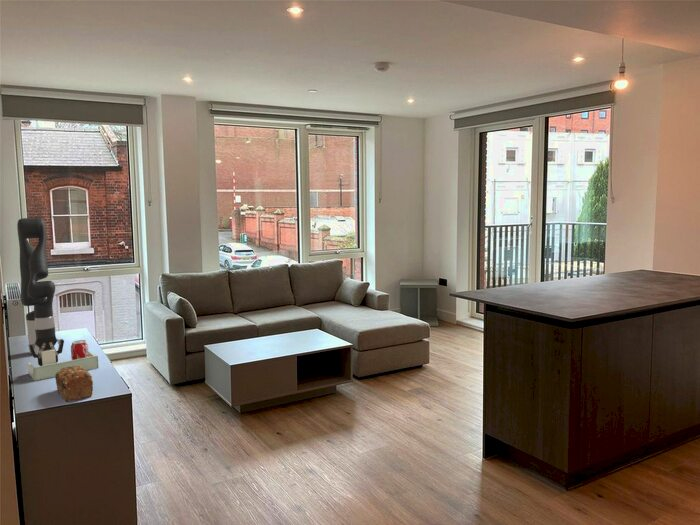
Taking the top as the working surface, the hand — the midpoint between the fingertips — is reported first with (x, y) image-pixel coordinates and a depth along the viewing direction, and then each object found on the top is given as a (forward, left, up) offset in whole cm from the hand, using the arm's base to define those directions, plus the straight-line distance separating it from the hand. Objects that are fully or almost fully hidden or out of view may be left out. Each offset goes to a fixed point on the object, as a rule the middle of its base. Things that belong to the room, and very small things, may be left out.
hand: (48, 364), depth 242 cm
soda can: (0, +13, -4) cm, 14 cm away
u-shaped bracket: (0, +6, -4) cm, 7 cm away
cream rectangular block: (0, 0, -1) cm, 1 cm away
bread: (+34, +2, -5) cm, 35 cm away
